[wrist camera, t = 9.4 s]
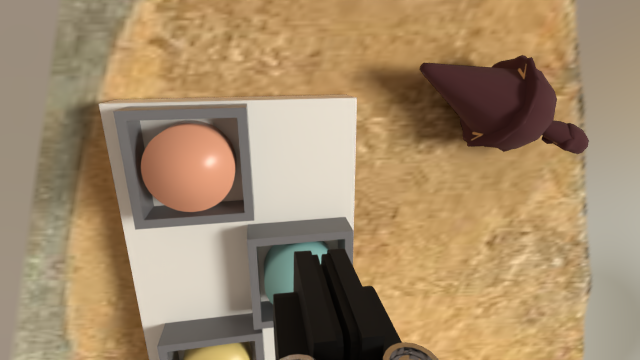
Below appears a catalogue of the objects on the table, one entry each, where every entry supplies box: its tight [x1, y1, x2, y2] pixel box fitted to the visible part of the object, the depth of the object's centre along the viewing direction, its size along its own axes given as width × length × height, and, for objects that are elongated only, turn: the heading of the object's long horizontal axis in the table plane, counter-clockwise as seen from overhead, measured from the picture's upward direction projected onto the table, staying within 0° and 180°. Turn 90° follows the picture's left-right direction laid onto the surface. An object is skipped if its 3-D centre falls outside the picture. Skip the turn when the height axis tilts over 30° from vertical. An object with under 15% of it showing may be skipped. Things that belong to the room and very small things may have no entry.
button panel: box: [99, 95, 357, 360], centre depth 28 cm, size 26×17×6 cm, turn 0°
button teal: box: [264, 241, 330, 304], centre depth 27 cm, size 6×6×2 cm
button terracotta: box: [141, 120, 237, 212], centre depth 23 cm, size 6×6×2 cm
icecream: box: [420, 55, 589, 154], centre depth 27 cm, size 7×7×15 cm
